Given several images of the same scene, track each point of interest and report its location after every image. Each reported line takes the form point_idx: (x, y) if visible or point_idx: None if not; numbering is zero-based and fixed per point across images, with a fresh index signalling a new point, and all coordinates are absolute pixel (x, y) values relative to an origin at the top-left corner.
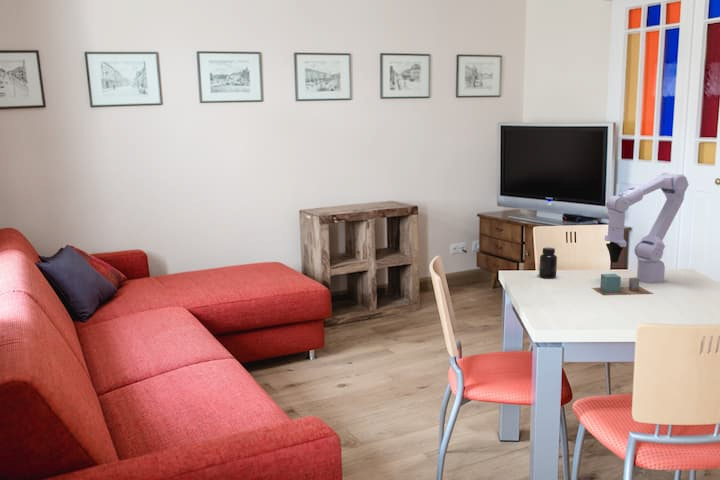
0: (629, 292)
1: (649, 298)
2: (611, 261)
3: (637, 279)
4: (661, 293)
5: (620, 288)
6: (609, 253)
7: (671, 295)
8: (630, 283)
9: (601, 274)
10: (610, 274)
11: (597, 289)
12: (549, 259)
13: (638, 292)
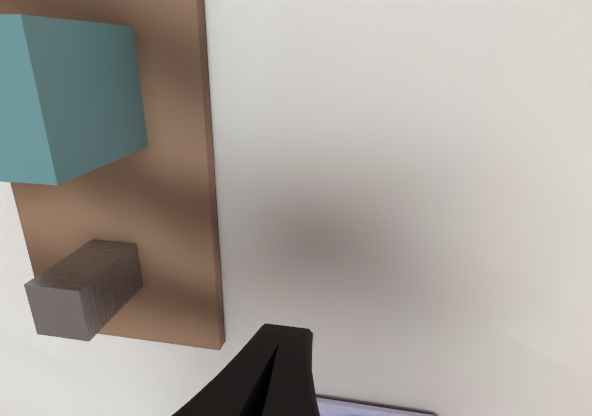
0: (64, 209)
1: (3, 269)
2: (287, 329)
3: (35, 318)
4: (115, 381)
5: (168, 206)
6: (309, 413)
7: (78, 399)
8: (85, 266)
9: (9, 14)
10: (16, 123)
11: (136, 1)
12: None
13: None
